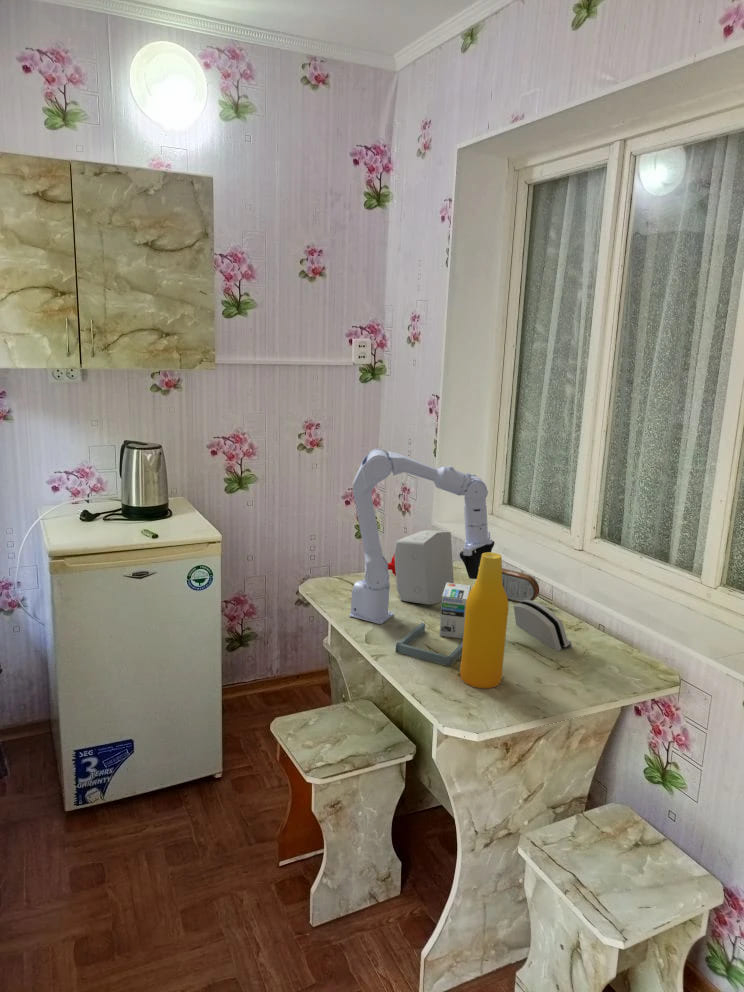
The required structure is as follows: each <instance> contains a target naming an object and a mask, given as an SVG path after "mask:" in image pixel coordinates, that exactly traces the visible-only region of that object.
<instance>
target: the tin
mask: <svg viewBox="0 0 744 992" xmlns="http://www.w3.org/2000/svg"><path fill="white" fill-rule="evenodd" d="M502 584H503V587H504V590H505V592H506V595H507V599H508V601H511V602H515V603H521V601H523V600H531V601H534V600H536V599H537V598H538V596H539V593H540V586H539V583H538V580H536V579H535V577H534V576H532V575H530V574H527V573H523V572H518V571H515V570H511V569H507V568H504V567H503V568H502Z"/></svg>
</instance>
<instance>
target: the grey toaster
mask: <svg viewBox="0 0 744 992" xmlns="http://www.w3.org/2000/svg"><path fill="white" fill-rule="evenodd" d="M513 609H514V610H513V611H514V612H513V613H514V619H515V626H516V627H518V628H520V629H521V630H522V631H524V632H525V633H527V634H529V635H530V636H532V637H534V638H535V639H537V640H538V641H540V642H541V643H543V644H545V645H547V646H548V647H550V648H551V649H553V650H554V651H556V652H560V651H562V647H564V648H567V647H568V648H571V649H573V643H572V641H571V640H569V639H568V637H567V635H566V631H565V627H564V623H563V621H562V620H561V619H560V617H558V616H557V615H556V614H555V612H553V611H551V610H550V609H549V608H548V607H547V606H545V605H543V604H541V603H539V602H537V601H534V600H533V601H531V600H523V601H521V603H518V602H516V604H515V605H513Z"/></svg>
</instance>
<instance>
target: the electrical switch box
mask: <svg viewBox="0 0 744 992" xmlns="http://www.w3.org/2000/svg"><path fill="white" fill-rule="evenodd" d="M452 547H453V545H452V533H451V531H445V530H444V531H441V530H428V529H427V530H420V531H418V532H415V533H413V534H411V535H408V536H405V537H403V538H400V539H398V540H396V542H395V547H394V552H393V556H392V557H391V562H389V563H388V562H387V563H388V571H389V570H391V572H392V574H393V575H394V576H395V580H396V581H395V582H396V591H397V593H398V595H399V599H400V601H404V602H407V603H416V604H423V605H434V604H438V603H442V595H443V592H444V589H445V586H446V583H454V582H455V581H454V578H455V577H454V565H453V564H454V562H453V561H454V560H453V549H452ZM454 584H455V583H454Z"/></svg>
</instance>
